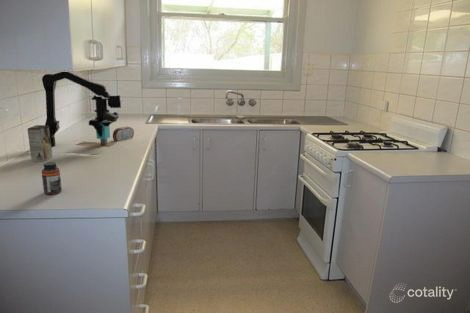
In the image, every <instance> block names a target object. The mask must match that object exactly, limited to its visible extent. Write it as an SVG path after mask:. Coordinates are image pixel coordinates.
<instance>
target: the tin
mask: <svg viewBox="0 0 470 313" xmlns="http://www.w3.org/2000/svg"><path fill="white" fill-rule="evenodd" d="M134 133H135V131H134V129H133V127H130V126H124V127H123V126H122V127H117V128H115V129H114V131H113V133H112V139H113V141H115V142H119V141H124V140H127V139H133V138H134V136H135V134H134Z"/></svg>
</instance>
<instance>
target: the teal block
mask: <svg viewBox="0 0 470 313" xmlns="http://www.w3.org/2000/svg"><path fill="white" fill-rule="evenodd" d="M95 131H96V130H95ZM95 134H96V139H98V140H100V139H107V140H108V139H110V138H111V133H110V125H109V126H103V128H102V137H100V136H99V134H98V133H97V131H96V132H95Z"/></svg>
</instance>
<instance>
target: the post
mask: <svg viewBox="0 0 470 313" xmlns="http://www.w3.org/2000/svg"><path fill="white" fill-rule="evenodd" d="M99 140H100V142H99V143H101V145H107V143H108V138H107V139H99Z"/></svg>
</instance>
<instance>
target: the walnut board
mask: <svg viewBox="0 0 470 313" xmlns="http://www.w3.org/2000/svg"><path fill="white" fill-rule="evenodd" d="M114 145H116V143H113V142H107V145H101V142H98V141H97V142H96V141H95V142H94V141H82V142H79V143H76V144H75V146H85V147H86V146H88V147H101V148H102V147H103V148H109V147H112V146H114Z"/></svg>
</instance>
